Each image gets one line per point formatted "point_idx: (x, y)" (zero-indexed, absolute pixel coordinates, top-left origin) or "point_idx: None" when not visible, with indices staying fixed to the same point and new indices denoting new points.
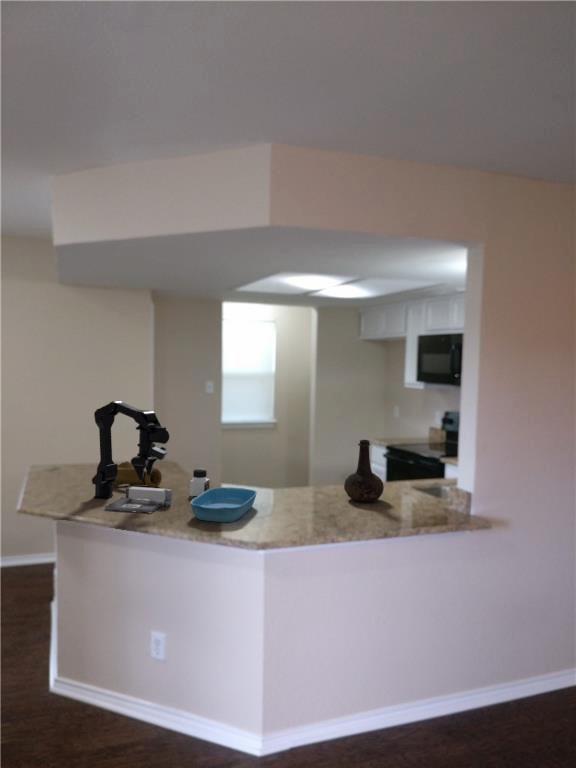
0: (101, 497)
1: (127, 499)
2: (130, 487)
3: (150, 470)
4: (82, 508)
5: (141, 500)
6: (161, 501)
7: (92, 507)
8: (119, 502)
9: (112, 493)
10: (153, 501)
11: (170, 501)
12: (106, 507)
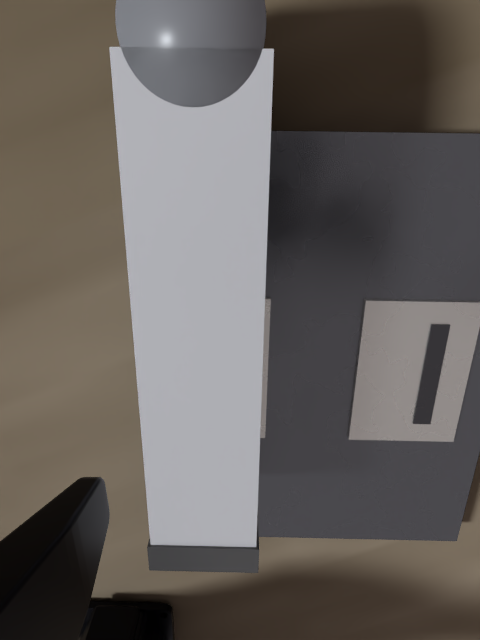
0: (173, 637)
1: None
2: (204, 549)
3: (46, 576)
4: (421, 636)
5: None
6: None
7: (391, 601)
8: (312, 498)
9: (93, 617)
10: None
11: None
12: (459, 528)
